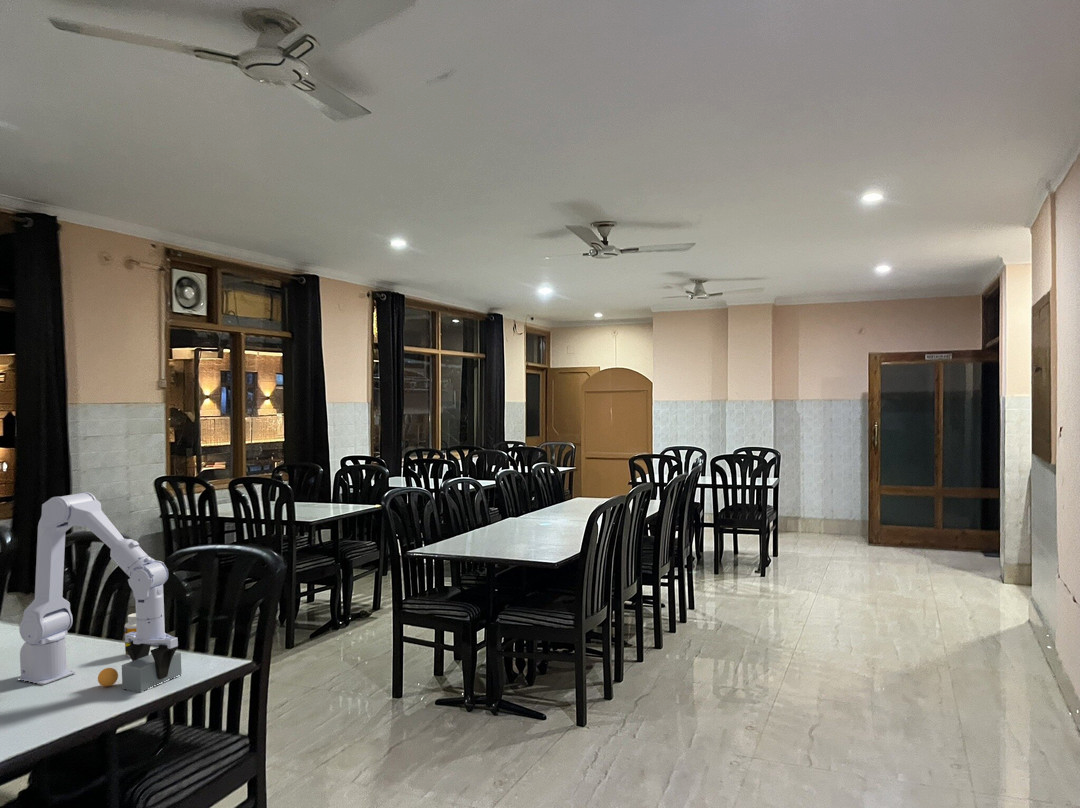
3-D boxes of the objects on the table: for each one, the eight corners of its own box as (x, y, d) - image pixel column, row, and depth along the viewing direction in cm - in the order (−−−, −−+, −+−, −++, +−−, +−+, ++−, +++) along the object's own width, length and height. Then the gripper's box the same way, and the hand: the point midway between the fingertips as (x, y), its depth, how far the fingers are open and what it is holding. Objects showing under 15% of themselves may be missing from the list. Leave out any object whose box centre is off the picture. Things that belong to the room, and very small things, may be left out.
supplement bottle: (120, 656, 194) (119, 616, 194) (141, 649, 199) (140, 610, 199) (134, 659, 191) (132, 618, 191) (155, 652, 196) (153, 612, 196)
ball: (94, 688, 172) (93, 670, 172) (110, 681, 176) (109, 664, 176) (106, 690, 171) (105, 672, 171) (122, 683, 174) (121, 666, 174)
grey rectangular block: (122, 689, 171) (121, 665, 171) (163, 672, 181) (162, 649, 181) (141, 692, 169) (140, 668, 169) (181, 675, 178) (180, 652, 178)
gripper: (112, 618, 174) (114, 678, 174) (157, 624, 168) (160, 686, 168) (139, 610, 180) (141, 668, 180) (184, 615, 174) (186, 675, 175)
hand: (152, 676), depth 175 cm, fingers closed on grey rectangular block, 6 cm apart
